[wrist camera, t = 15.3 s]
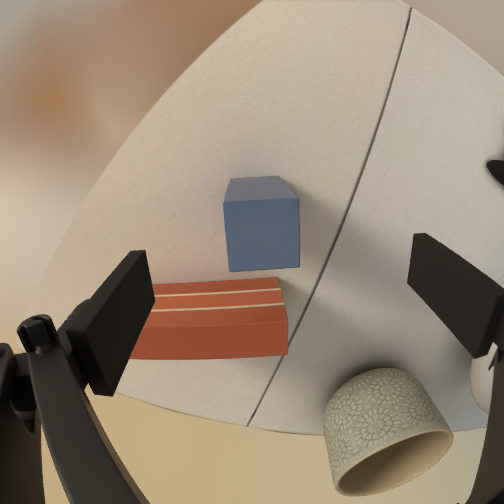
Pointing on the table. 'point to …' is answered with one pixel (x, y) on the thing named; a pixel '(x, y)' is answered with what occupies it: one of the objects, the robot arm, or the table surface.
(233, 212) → the blue block
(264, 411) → the table surface
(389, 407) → the planter
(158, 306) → the brick wall
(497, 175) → the game controller
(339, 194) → the table surface
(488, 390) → the table lamp
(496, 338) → the robot arm
